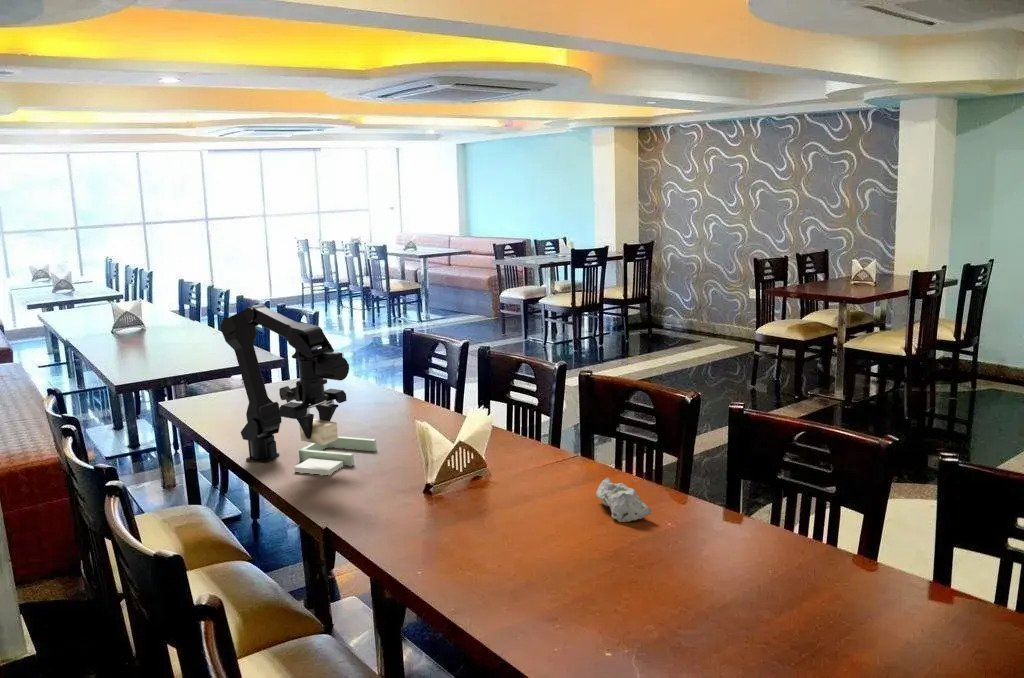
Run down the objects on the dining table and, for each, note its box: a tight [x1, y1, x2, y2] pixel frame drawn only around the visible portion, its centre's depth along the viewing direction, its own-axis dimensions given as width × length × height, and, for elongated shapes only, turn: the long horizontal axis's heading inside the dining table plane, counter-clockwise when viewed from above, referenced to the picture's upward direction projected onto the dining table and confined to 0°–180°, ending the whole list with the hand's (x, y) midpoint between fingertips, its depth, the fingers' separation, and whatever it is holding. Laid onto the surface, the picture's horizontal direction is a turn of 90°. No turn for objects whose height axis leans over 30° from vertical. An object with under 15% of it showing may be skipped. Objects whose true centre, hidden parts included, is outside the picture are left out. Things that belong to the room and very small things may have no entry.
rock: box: [595, 477, 652, 523], centre depth 178 cm, size 16×7×7 cm, turn 27°
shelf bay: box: [298, 435, 378, 467], centre depth 220 cm, size 16×13×3 cm
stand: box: [293, 458, 344, 476], centre depth 210 cm, size 10×7×2 cm
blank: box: [299, 418, 339, 445], centre depth 208 cm, size 8×5×4 cm, turn 60°
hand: (316, 435), depth 208 cm, fingers closed on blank, 5 cm apart
